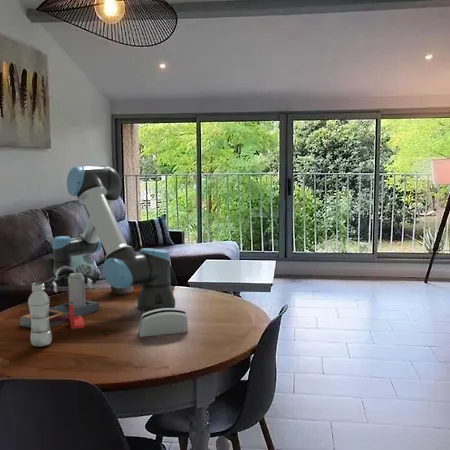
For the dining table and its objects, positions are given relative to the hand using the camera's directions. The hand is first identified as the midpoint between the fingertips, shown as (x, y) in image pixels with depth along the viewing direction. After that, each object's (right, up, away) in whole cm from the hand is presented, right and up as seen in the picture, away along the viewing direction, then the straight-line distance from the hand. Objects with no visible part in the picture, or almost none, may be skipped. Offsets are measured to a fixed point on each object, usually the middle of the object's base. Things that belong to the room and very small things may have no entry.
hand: (73, 286), depth 205 cm
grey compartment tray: (-2, -10, -10) cm, 14 cm away
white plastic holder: (+39, -13, -28) cm, 50 cm away
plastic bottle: (+1, -14, -39) cm, 42 cm away
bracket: (+6, -12, -17) cm, 21 cm away
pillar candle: (+14, -6, +27) cm, 31 cm away
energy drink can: (+2, -10, -3) cm, 10 cm away
